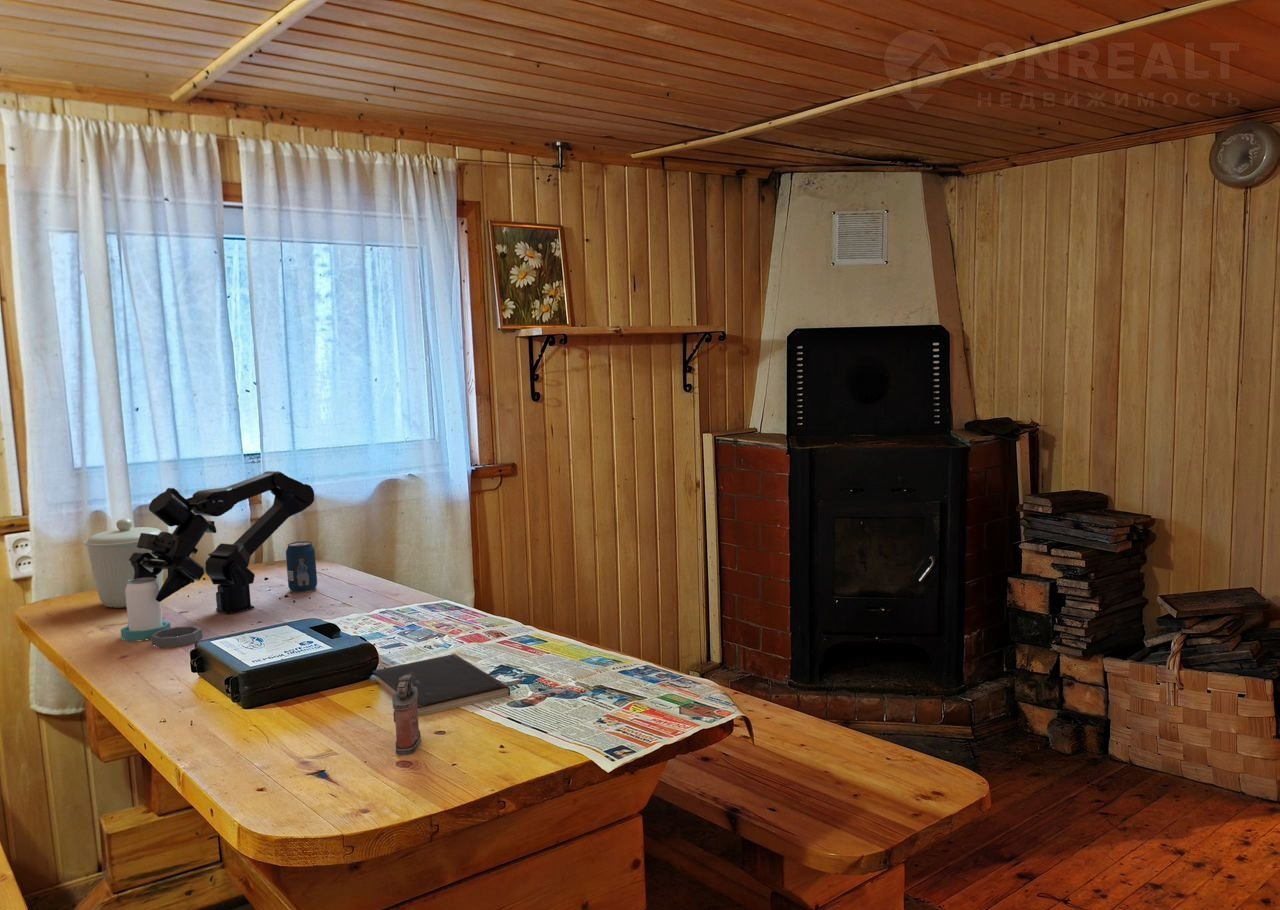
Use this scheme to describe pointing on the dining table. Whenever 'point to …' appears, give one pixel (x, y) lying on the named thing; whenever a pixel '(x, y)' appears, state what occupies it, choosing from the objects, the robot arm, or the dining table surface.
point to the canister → (116, 560)
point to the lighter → (406, 717)
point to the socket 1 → (142, 632)
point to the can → (143, 604)
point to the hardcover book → (444, 683)
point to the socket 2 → (170, 636)
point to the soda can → (301, 567)
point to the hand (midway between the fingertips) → (144, 598)
